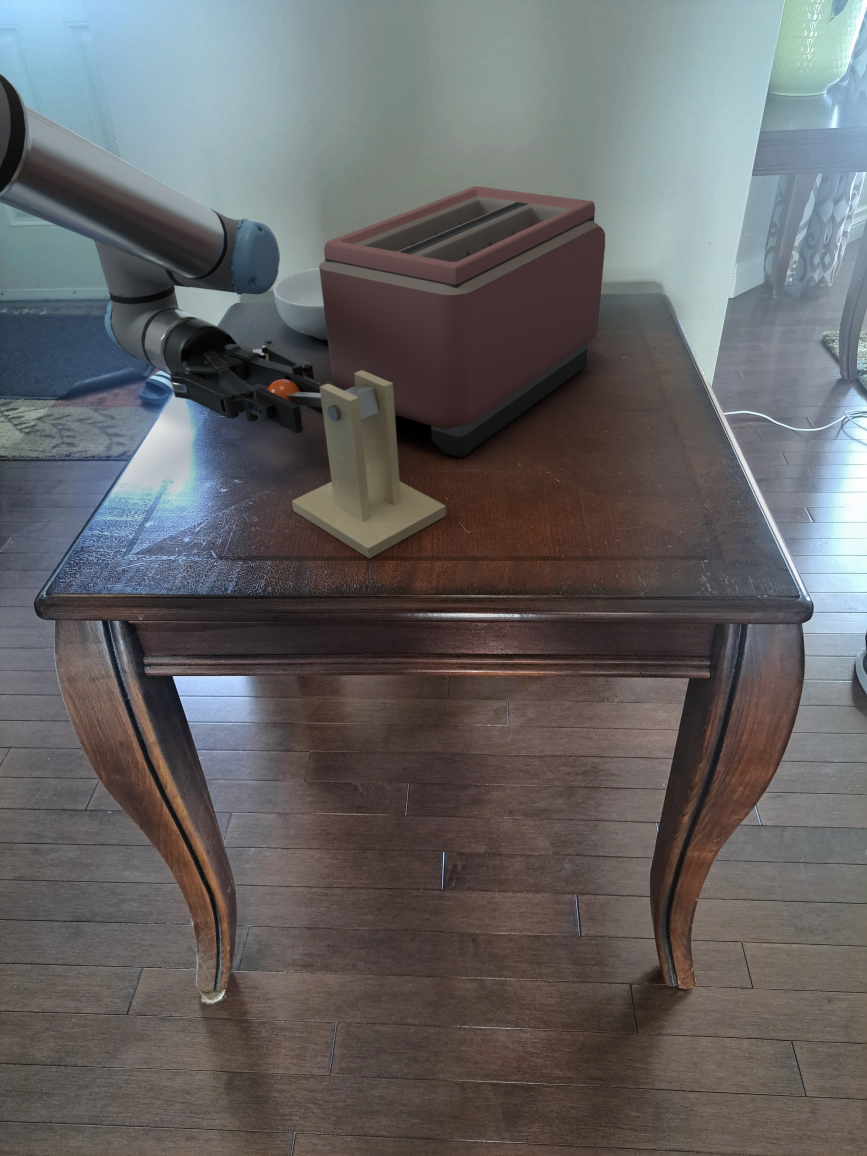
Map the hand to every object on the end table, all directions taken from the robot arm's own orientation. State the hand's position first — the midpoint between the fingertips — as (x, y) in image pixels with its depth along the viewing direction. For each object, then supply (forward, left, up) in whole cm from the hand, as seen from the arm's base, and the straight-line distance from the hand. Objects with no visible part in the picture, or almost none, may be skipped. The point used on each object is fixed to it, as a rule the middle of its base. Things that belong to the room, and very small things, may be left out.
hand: (315, 412), depth 82 cm
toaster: (+3, +29, -9) cm, 30 cm away
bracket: (+7, -2, -9) cm, 11 cm away
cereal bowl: (-25, +37, -9) cm, 46 cm away
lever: (+1, 0, 0) cm, 1 cm away
